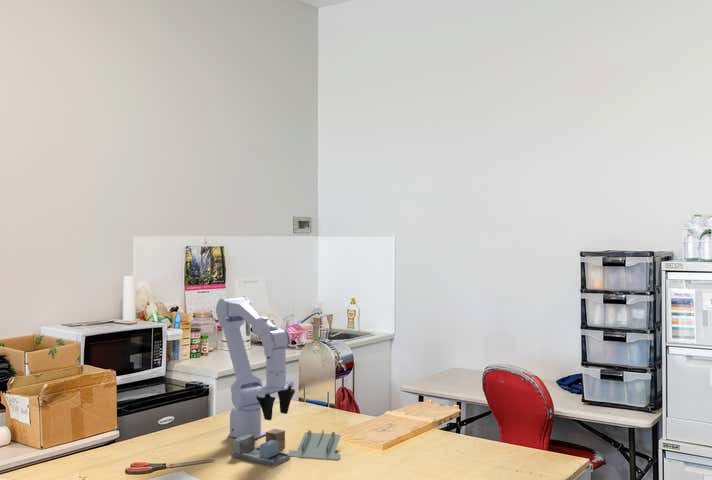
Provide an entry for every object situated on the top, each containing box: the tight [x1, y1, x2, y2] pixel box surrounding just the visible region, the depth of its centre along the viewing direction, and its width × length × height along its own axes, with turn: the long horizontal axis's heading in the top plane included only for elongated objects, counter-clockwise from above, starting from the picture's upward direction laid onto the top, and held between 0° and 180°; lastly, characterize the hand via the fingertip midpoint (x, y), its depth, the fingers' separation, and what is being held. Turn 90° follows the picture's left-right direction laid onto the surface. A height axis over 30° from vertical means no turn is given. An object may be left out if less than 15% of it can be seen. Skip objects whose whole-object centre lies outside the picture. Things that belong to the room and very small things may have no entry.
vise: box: [231, 434, 291, 467], centre depth 191 cm, size 15×8×5 cm, turn 58°
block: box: [265, 428, 286, 451], centre depth 199 cm, size 4×4×5 cm
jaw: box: [259, 440, 280, 459], centre depth 189 cm, size 3×5×4 cm, turn 148°
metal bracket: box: [288, 429, 341, 462], centre depth 196 cm, size 14×6×15 cm
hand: (276, 416), depth 199 cm, fingers open, 7 cm apart
